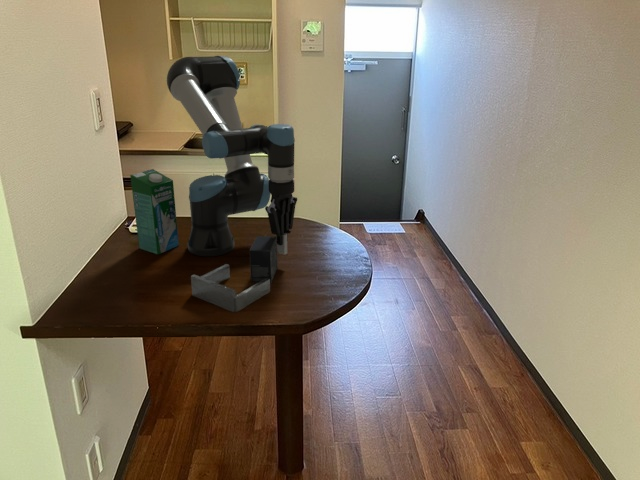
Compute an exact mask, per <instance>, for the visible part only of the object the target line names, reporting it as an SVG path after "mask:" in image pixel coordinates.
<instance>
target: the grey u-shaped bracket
mask: <svg viewBox="0 0 640 480" xmlns="http://www.w3.org/2000/svg"><path fill="white" fill-rule="evenodd" d="M230 273H231V271H230V264H227V263H225V264H224V265H221V266H220V267H217V268H215V269H213V270H211V271H209V272H207V273H205V274H203V275H200V276H199V275H197V274H192V275H191V276H190V283H191V295H192V297H195V298H198V299H200V300H202V301H205V302H207V303H210V304H212V305H214V306H217V307H218V308H219V307H220V308H221V309H224V310H227V311H229V312H232V313H235V312H236V313H238V312H240V311H242V310H243V309H244V308H246V307H248V306H249V305H251V304H253V303H254V302H256V301H258V300H260V299H261V298H262V297H264V296H265V295H268V294H269V293H271V283H270V279H268V278H266V279H264V280H262V281H260V282H259V283H255V284H254V285H251V286H250V287H248V288H246V289H245V290H243V291H241V292H240V293H238V294H237V290H236V289H234V288H231V287H229V286H227V285H223V284H221V283H222V282H224V281H226V280H228V279H229V278H231V274H230Z"/></svg>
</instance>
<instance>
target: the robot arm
mask: <svg viewBox="0 0 640 480" xmlns="http://www.w3.org/2000/svg"><path fill="white" fill-rule="evenodd" d="M240 76H241V75H240V71H239V69H238V66H237V64H236V62H235V61H234V60H233V59H232V58H230V57H229V56H224V55H223V56H221V55H214V56H212V55H211V56H184V57H181V58H179V59H177V60H175V61H174V63H173V64H171V66H170V67H169V69H168V71H167V75H166V85H167V89H168V91H169V93H170V94H171V96H172V97H173V99H175V100H176V101H179V102H180V103H181V104H182V106H183V108H184V109H185V111H186V112H187V114H188V115H189V116H190V118H191V120H192V121H193V122H194V124H195V126H196V127H197V129H198V130H199V131H200V133H201V134H202V139H201V144H202V149H203V153H204V154H205V156H206V157H207V158H209V159H224V162H225V166H226V169H227V171H226V173H225V174H224V175H219V174H214V175H212V174H210V175H205V176H202V177H201V176H200V177H198V178H196V179H194V180H193V181H192V182H191V183H190V185H189V186H188V189H189V193H188V200H189V207H190V208H189V210H190V219H191V228H190V232H189V238H188V240H187V250H188V252H189V253H190V254H192V255H195V256H200V257H216V256H217V257H218V256H223V255H226V254H228V253H230V252H232V251H233V250H234V248H235V239H234V236H233V234H232V231H231V229H230V228H231V227H230V225H229V217H228V216H231V215H236V214H242V213H247V212H256V211H258V210H261V209H265V212H266V213H267V218H268V223H269V226H270V233H271V234H272V235H276V240H277V254H280V255H283V256H285V255H287V254H288V238H289V237H288V235H289V234H291V232H292V231H291V230H292V229H293V227H294V226H293V225H294V219H295V218H294V217H295V212H296V205H297V202H298V197H296V196H293V194H294V192H295V180H294V178H295V142H296V140H295V130H294V127H293V126H292V125H290V124H284V123H274V124H269V125H268V126H266V125H263V124H252V125H251V126H250V127H247V128H243V123H242V122H241V118H240V114H239V110H238V106H237V102H236V99H235V97H236V96H237V93H238V90H239V88H240V86H241V85H240V84H241V80H240ZM254 154H255V155H256V154H264V155H266V156H267V175H266V174H265V173H260V169H259V167H258V166H257V165H255V164H253V161H252V157H251V155H254ZM269 203H270V204H269ZM268 204H269V205H268Z"/></svg>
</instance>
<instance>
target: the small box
mask: <svg viewBox="0 0 640 480" xmlns="http://www.w3.org/2000/svg"><path fill="white" fill-rule="evenodd" d="M249 264H250V265H249V266H250V283H255V284H257V283H259V282H260V281H262V280H264V279H266V278H268V279H270V284H272V283H273V280H274V278H275V275H276V273H277V270H278V252H277V236H258V235H257V236H256V237H255V239H254V241H253V243H252V245H251V247H250V248H249Z"/></svg>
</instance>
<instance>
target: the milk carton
mask: <svg viewBox="0 0 640 480" xmlns="http://www.w3.org/2000/svg"><path fill="white" fill-rule="evenodd" d="M129 176H130V184H131V192H132V198H133V199H132V200H133V208H134V216H135V223H136V225H135V226H136V231H137V241H138V249H140V250H144V251H146V252H149V253H151V254H152V253H153V254H155V255H161V254H162V253H165V252H168V251H169V250H172V249H174V248H176V247H179V246H180V244H179V234H178V232H179V230H178V222H177V221H178V219H177V213H176V210H177V209H176V199H175V190H174V189H175V188H174V180H173V179H172V178H170V177H168V176H166V175H164V174H163V173H160V172H159V171H158V170H156V169H154V168H152V169H147V170H144V171H141V172H136V173H132V174H130V175H129Z"/></svg>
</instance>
